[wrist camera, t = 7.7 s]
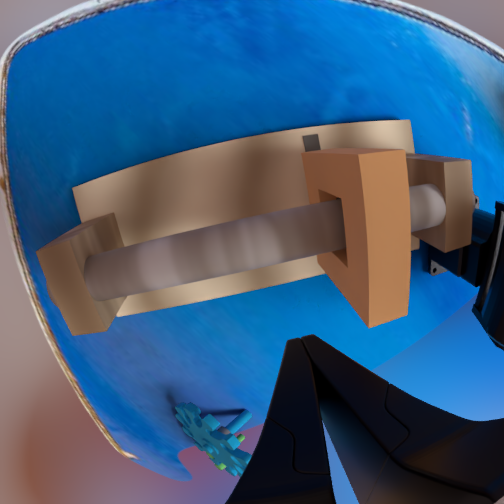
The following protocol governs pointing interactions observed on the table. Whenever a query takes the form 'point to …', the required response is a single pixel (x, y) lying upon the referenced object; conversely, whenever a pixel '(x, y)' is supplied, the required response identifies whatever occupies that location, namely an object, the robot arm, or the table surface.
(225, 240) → the pipe rig
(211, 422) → the gear
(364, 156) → the collar
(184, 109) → the table surface
